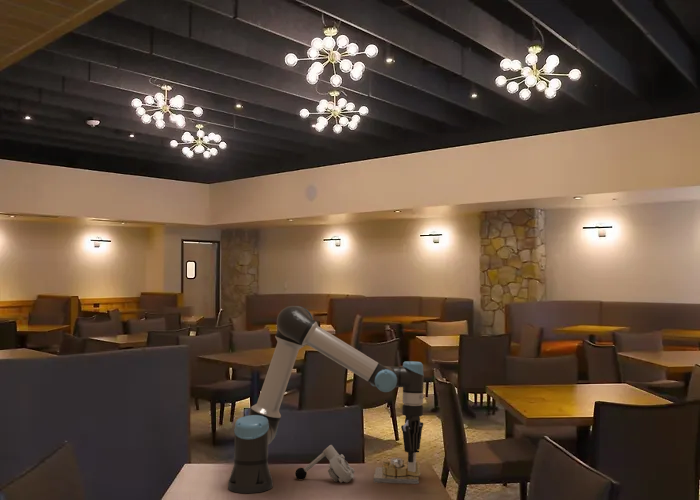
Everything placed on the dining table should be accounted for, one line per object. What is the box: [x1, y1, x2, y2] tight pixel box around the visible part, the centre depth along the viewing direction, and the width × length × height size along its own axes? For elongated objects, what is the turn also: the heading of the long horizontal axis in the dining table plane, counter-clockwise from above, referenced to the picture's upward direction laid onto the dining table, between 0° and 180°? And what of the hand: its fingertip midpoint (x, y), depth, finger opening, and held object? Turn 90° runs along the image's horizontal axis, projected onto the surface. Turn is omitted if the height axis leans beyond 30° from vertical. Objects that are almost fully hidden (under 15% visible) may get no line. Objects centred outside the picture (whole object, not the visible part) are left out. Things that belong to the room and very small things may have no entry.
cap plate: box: [373, 457, 421, 485], centre depth 224 cm, size 17×16×6 cm
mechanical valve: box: [294, 444, 356, 484], centre depth 219 cm, size 10×18×15 cm
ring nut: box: [381, 459, 421, 476], centre depth 223 cm, size 14×10×5 cm
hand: (411, 471), depth 219 cm, fingers closed
